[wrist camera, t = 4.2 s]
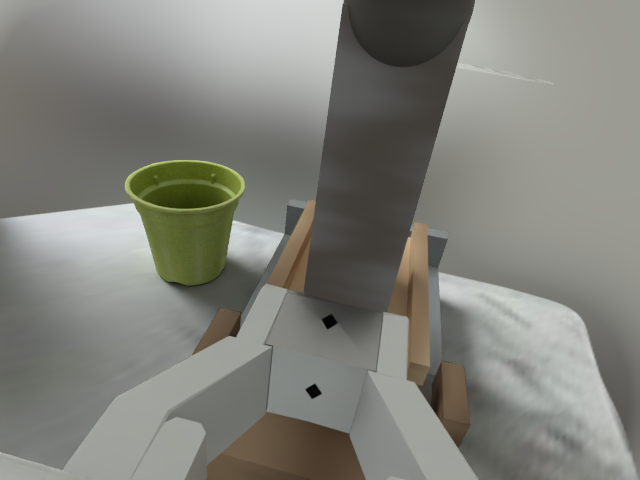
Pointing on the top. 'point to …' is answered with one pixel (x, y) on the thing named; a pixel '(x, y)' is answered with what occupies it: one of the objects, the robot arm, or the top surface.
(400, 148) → the launcher
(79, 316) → the top surface
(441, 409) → the lever stand
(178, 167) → the plant pot
